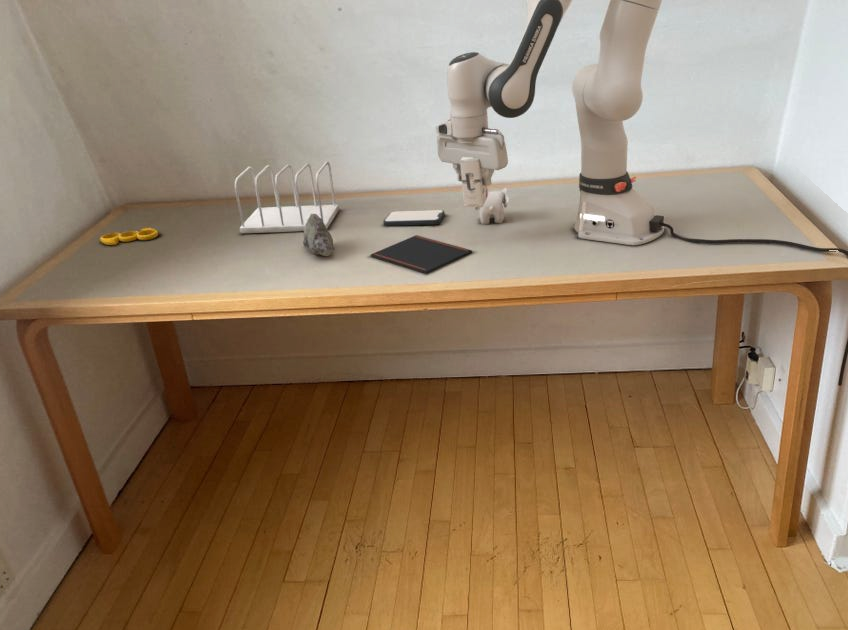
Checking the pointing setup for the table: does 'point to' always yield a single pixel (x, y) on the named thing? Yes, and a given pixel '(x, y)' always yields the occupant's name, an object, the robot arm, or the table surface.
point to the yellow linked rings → (129, 236)
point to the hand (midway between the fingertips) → (474, 183)
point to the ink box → (473, 182)
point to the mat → (421, 254)
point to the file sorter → (286, 207)
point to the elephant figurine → (493, 206)
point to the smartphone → (414, 218)
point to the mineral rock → (317, 236)
